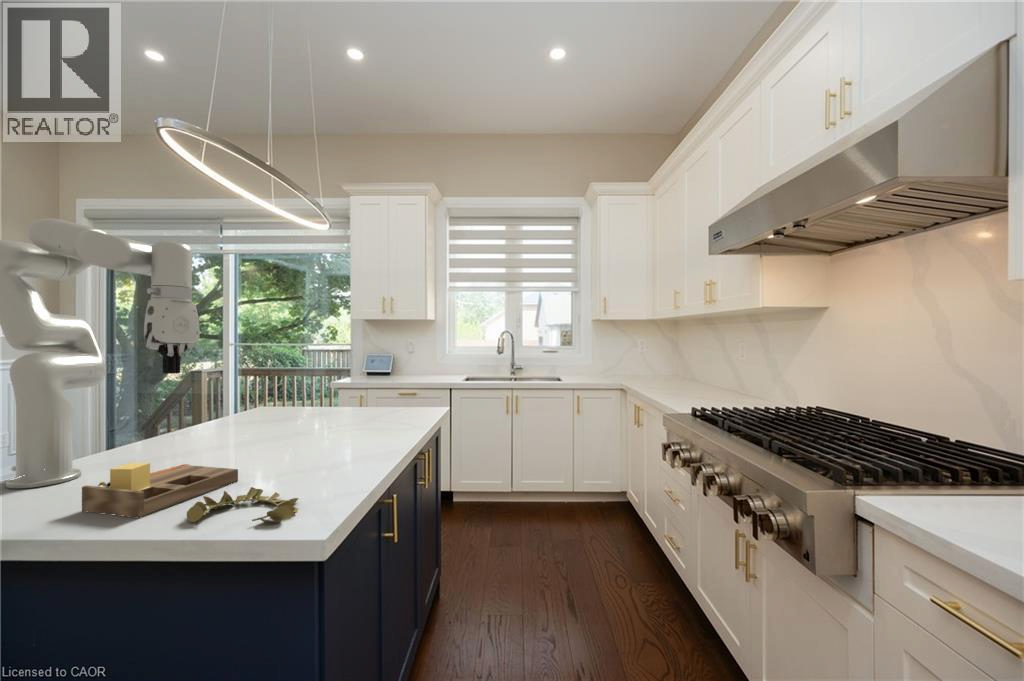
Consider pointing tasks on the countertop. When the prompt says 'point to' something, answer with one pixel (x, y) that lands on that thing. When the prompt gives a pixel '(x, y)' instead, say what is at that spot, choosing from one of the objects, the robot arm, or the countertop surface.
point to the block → (130, 476)
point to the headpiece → (279, 514)
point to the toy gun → (154, 472)
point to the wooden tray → (158, 491)
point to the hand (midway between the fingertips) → (171, 373)
